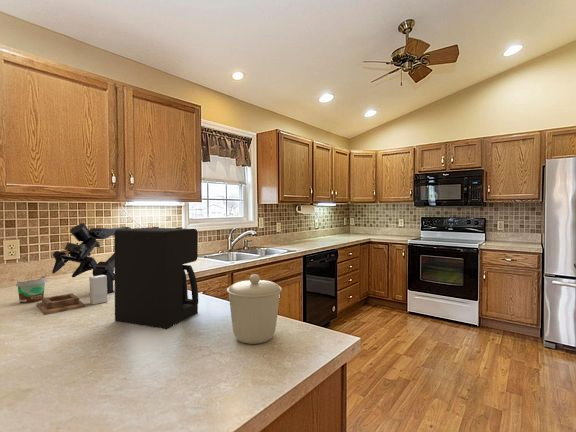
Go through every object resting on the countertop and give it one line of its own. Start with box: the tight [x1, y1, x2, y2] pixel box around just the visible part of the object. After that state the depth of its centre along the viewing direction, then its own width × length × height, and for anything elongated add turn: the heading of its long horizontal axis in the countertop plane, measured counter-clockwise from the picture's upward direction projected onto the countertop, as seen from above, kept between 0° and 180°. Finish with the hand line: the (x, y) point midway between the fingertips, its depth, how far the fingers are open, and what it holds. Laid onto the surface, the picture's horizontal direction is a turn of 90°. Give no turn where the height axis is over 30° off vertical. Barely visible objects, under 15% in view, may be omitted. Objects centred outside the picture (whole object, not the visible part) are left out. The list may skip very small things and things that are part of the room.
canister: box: [226, 273, 283, 345], centre depth 103 cm, size 18×18×21 cm
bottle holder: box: [35, 292, 86, 316], centre depth 136 cm, size 14×18×4 cm
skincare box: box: [88, 275, 108, 305], centre depth 142 cm, size 6×4×12 cm
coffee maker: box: [113, 226, 199, 330], centre depth 122 cm, size 28×20×35 cm
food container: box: [15, 276, 48, 304], centre depth 144 cm, size 12×6×10 cm, turn 168°
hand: (62, 274), depth 136 cm, fingers open, 9 cm apart
